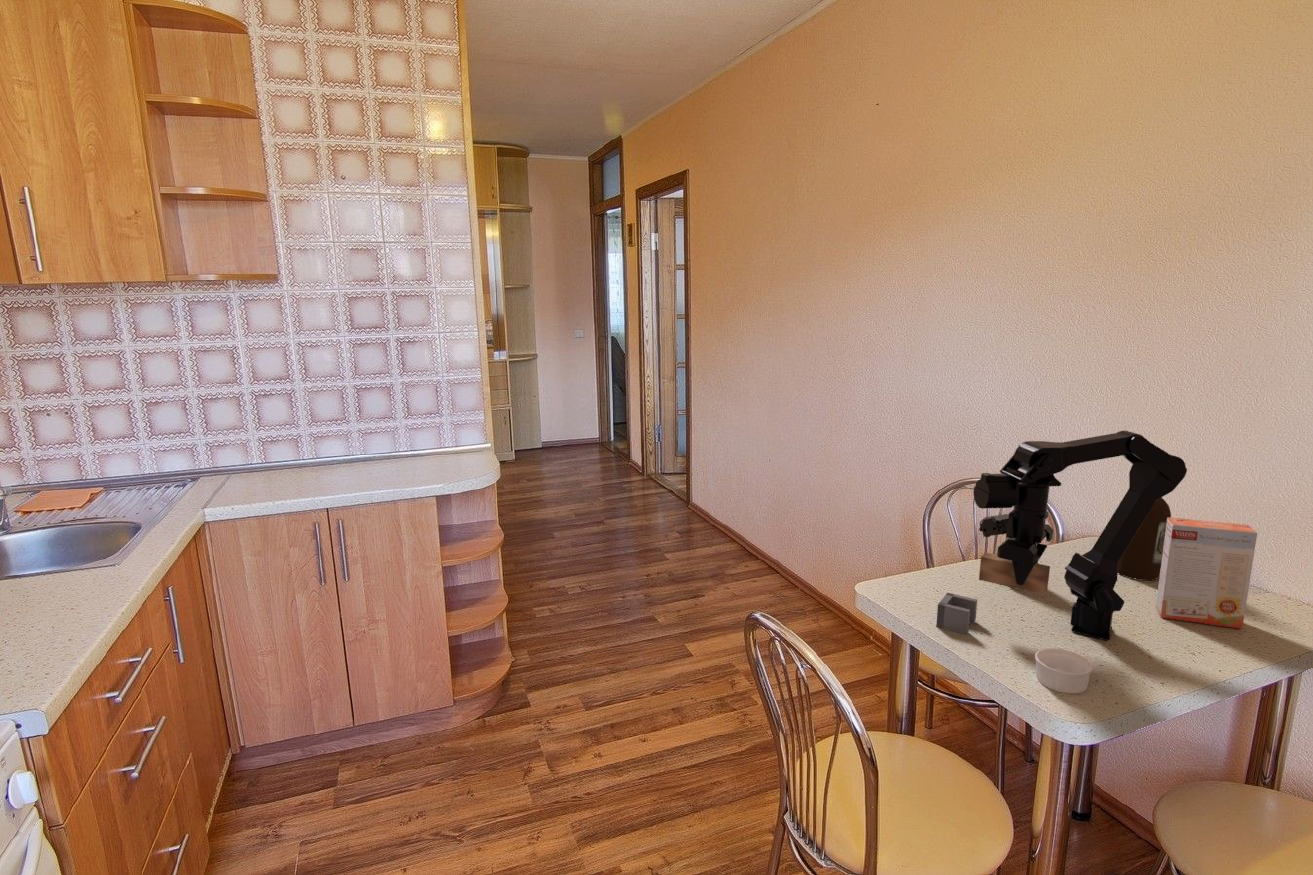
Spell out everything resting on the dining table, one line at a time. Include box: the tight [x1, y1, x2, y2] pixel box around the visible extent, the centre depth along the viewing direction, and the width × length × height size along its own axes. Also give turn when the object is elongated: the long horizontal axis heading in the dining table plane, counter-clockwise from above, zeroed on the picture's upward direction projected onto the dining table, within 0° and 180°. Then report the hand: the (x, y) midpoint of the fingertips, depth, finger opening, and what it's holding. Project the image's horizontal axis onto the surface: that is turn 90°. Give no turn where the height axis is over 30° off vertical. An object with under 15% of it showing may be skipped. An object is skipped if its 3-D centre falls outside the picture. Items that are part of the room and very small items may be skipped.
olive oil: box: [1117, 497, 1172, 581], centre depth 169 cm, size 11×11×25 cm
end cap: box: [935, 592, 978, 635], centre depth 147 cm, size 6×7×5 cm
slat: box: [978, 552, 1051, 596], centre depth 141 cm, size 12×3×5 cm, turn 52°
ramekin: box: [1034, 647, 1094, 695], centre depth 125 cm, size 9×9×4 cm
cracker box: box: [1155, 517, 1258, 630], centre depth 146 cm, size 14×6×21 cm, turn 65°
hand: (1021, 581), depth 141 cm, fingers closed on slat, 3 cm apart
